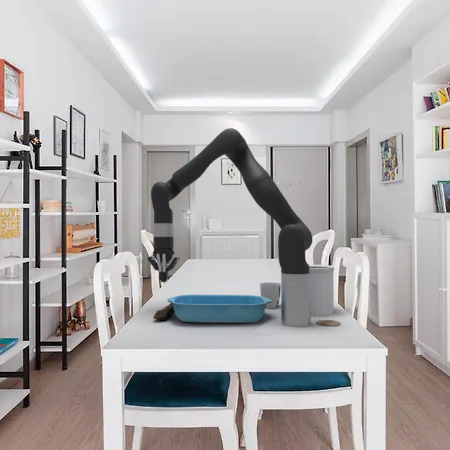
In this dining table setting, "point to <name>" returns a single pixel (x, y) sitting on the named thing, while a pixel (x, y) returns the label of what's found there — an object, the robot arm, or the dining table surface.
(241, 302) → the casserole dish
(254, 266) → the dining table surface
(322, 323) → the cork coaster
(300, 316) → the robot arm
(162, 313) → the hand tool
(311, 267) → the utensil holder
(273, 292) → the cup
